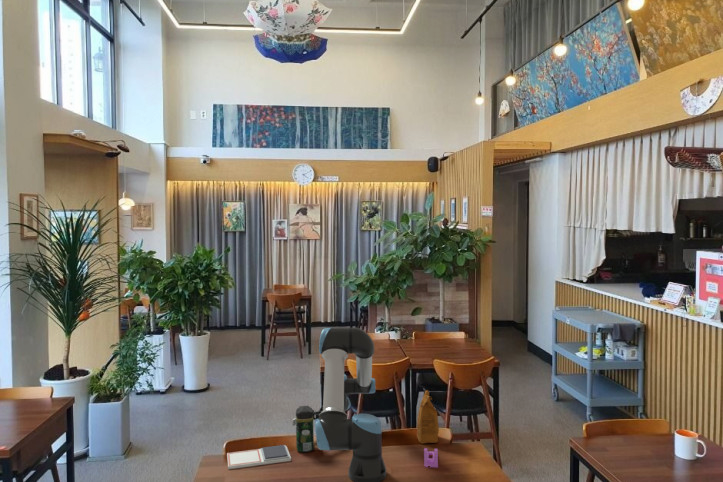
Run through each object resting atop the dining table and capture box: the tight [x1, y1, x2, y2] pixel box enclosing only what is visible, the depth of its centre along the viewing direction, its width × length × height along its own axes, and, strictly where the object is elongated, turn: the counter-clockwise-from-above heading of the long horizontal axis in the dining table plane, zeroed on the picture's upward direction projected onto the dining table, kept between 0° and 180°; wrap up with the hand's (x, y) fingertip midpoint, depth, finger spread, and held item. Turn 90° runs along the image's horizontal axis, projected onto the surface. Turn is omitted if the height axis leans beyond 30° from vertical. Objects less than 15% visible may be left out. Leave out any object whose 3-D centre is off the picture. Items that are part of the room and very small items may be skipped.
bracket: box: [423, 447, 439, 468], centre depth 214 cm, size 13×6×7 cm, turn 173°
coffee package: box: [416, 390, 440, 444], centre depth 237 cm, size 10×12×22 cm
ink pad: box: [260, 444, 291, 461], centre depth 220 cm, size 13×11×1 cm
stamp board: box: [226, 445, 292, 470], centre depth 218 cm, size 14×26×1 cm, turn 107°
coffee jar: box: [295, 405, 315, 453], centre depth 228 cm, size 10×8×19 cm
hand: (304, 425), depth 229 cm, fingers open, 13 cm apart
